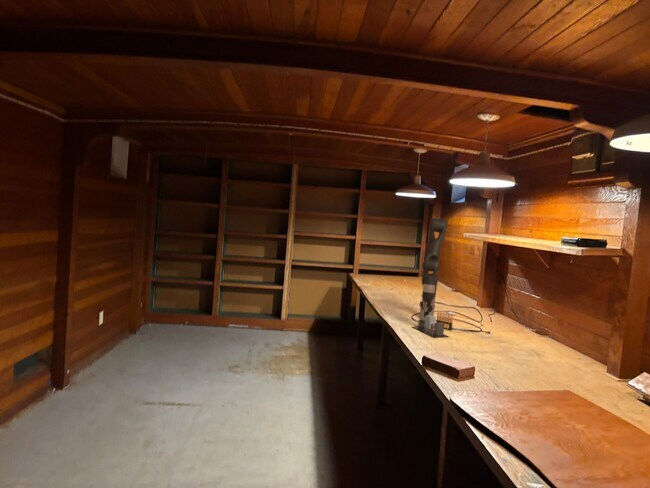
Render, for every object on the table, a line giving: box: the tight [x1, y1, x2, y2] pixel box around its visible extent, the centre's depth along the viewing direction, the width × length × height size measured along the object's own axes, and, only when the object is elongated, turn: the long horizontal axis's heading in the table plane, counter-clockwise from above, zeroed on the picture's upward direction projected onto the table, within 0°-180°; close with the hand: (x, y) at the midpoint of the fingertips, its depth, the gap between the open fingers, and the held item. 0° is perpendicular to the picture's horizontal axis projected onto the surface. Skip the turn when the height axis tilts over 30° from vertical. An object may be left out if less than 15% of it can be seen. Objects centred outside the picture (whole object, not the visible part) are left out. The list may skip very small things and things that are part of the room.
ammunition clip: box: [435, 309, 454, 332], centre depth 266 cm, size 11×2×12 cm, turn 58°
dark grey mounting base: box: [411, 319, 450, 339], centre depth 255 cm, size 23×12×8 cm, turn 23°
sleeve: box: [424, 315, 437, 330], centre depth 255 cm, size 5×4×8 cm
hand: (425, 317), depth 259 cm, fingers closed
